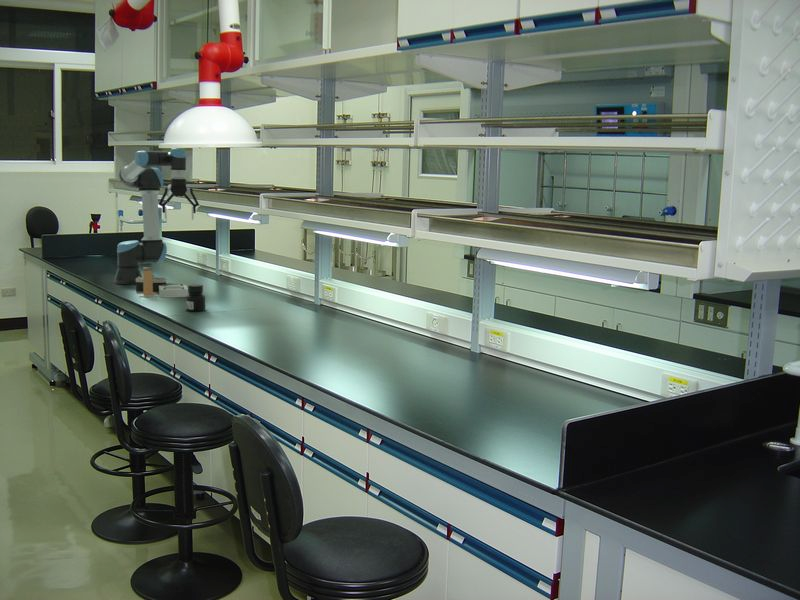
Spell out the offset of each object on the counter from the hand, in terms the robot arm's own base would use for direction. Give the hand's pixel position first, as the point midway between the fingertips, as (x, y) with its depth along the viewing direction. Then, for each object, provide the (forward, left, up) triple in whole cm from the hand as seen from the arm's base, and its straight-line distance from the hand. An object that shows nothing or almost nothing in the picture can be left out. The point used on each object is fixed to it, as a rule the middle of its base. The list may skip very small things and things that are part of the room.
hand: (179, 219), depth 422 cm
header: (+8, -4, -39) cm, 40 cm away
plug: (+8, -17, -38) cm, 42 cm away
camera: (-4, -14, -39) cm, 42 cm away
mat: (+8, -17, -39) cm, 43 cm away
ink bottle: (+54, +4, -39) cm, 66 cm away
